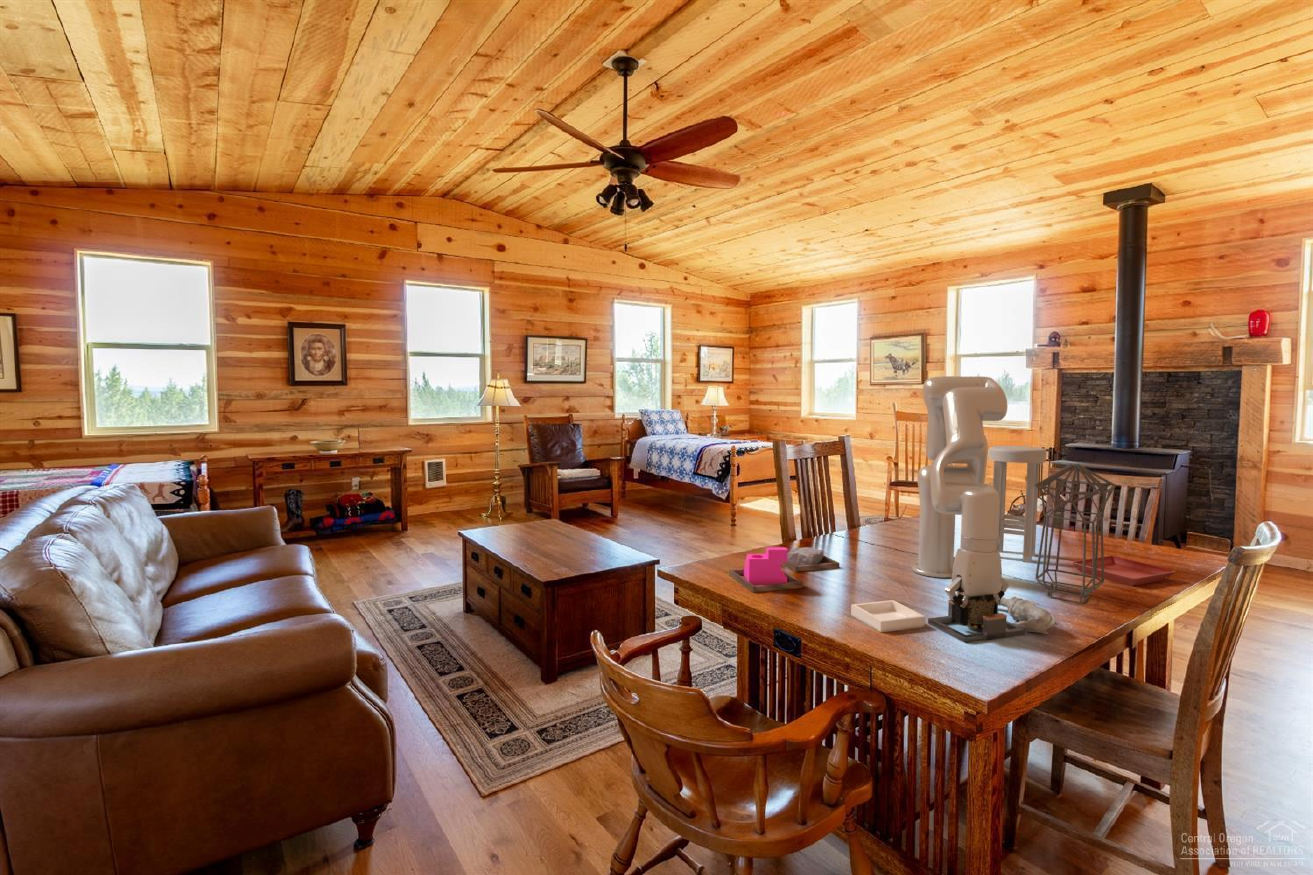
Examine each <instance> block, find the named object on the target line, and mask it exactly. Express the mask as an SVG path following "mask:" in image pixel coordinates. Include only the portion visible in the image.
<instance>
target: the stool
mask: <svg viewBox="0 0 1313 875" xmlns="http://www.w3.org/2000/svg"><path fill="white" fill-rule="evenodd" d="M988 460H991V461H993V477H992V481H993V482H992V486H993V487H994V488H995V489H996V491H997V492H998V493H999V495H1000V515H999V539H1000V543H999V544H998V551H999V552H1000V553H1003V551H1004V542H1005V541H1004V540H1005V539H1004V538H1005V536H1004V535H1005V534H1006V535H1007V534H1008V535H1016V536H1023V546H1022V547H1023V550H1022V563H1028V564H1032V559H1033V557H1035V556H1036V540H1037V521H1038V520H1037V518H1038V498H1039V497H1038V496H1039V489H1038V488H1037V487H1035V486H1034V485H1035V484H1037V483H1039V479H1040V478H1039V477H1040V464H1041V463H1046V462H1047V449H1046V448H1043V447H1039V446H1037V447H1036V446H1027V445H1024V446H1023V445H993V446H990V447H988ZM1008 463H1016V464H1027V465H1026V480H1025V481H1026V484H1025V501H1024V502H1025V505H1024V506H1025V508H1024V516H1023V515H1015V514H1014V515H1013V514H1005V513H1006V496H1007V495H1006V492H1007V491H1006V490H1007V489H1006V488H1007V472H1008V471H1007V470H1008V469H1007V468H1008V467H1007V466H1008V465H1007V464H1008Z"/></svg>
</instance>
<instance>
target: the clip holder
mask: <svg viewBox="0 0 1313 875" xmlns="http://www.w3.org/2000/svg"><path fill="white" fill-rule="evenodd" d="M947 603H948V606H947V608H948V609H947V616H946V615H945V616H937V617H928V618H927V624H928V625H930V626H932V627H934V628H936V629H938V630H940V631H942V632H944V633H945V634H948V635H950V636H951V637H953V638H955V639H957V640H959V641H961V642H963V643H965V644H968V643H977V642H984V641H992V640H997V639H1006V638H1013V637H1020V636H1022V637H1023V636H1026V635H1027V631H1026V629H1024V628H1021V627H1019V626H1017V625H1015V624H1012V623H1013V622H1010V621H1008V620H1007V618H1008V615H1007V614H1005V613H1002V612H1000V613H999V612H998V614H991V615H983V631H982V632H978V633H970V634H964V633H962V632H960V631H958V630H957V629H955V628H953V627H951V626H949V625H947V624H952V623H957V622H956V621H955V608H956V605H955V604H953V602H952V600H951V599H948V600H947Z"/></svg>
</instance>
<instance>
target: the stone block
mask: <svg viewBox="0 0 1313 875" xmlns="http://www.w3.org/2000/svg"><path fill="white" fill-rule="evenodd" d="M823 556H825V555H824V549H818V548H814V547H808V546H805V547H797V548H794V549H791V550H790V552H789V553H788V556H787V561H789V562H791V563H792V564H794V565H796V566H801V565H813V564H820V562H823V561H822V560H823Z"/></svg>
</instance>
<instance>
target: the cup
mask: <svg viewBox="0 0 1313 875" xmlns="http://www.w3.org/2000/svg"><path fill="white" fill-rule="evenodd" d="M963 593H964V592H963ZM963 597H964V596H963V595H961V600H962V599H963ZM995 600H996V597H995V598H994V599H993V597H992V595H983V596H974V597H970V599H969V601H968V603H967V605H966V608H968V624H967V625H966V628H968V629H970V630H971V631H974V632H983V615H991V614H993V611H994V606H995Z"/></svg>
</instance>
